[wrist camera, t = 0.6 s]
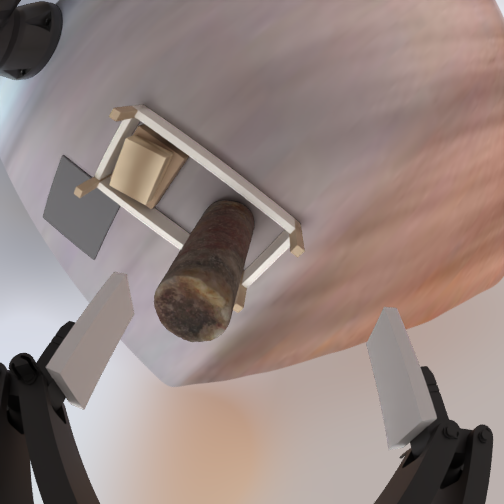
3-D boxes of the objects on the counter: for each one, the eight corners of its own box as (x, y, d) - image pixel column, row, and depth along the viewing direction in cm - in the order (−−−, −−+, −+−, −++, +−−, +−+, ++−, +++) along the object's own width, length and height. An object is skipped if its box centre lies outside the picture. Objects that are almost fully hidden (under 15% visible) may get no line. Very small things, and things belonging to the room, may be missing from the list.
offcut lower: (119, 172, 39) (109, 178, 37) (147, 123, 35) (138, 125, 33) (159, 202, 41) (151, 209, 39) (191, 154, 37) (184, 159, 35)
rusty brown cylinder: (200, 238, 43) (152, 333, 26) (205, 192, 39) (149, 271, 22) (250, 248, 43) (230, 351, 26) (259, 202, 40) (242, 291, 22)
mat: (43, 216, 44) (42, 217, 43) (63, 155, 38) (62, 155, 37) (95, 259, 47) (93, 260, 47) (122, 201, 41) (121, 202, 41)
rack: (103, 176, 39) (73, 193, 32) (143, 104, 34) (113, 107, 27) (244, 279, 46) (238, 312, 39) (300, 223, 40) (304, 251, 34)
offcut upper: (119, 178, 37) (109, 185, 34) (136, 134, 33) (126, 138, 31) (154, 197, 38) (145, 205, 35) (173, 153, 35) (165, 158, 32)
